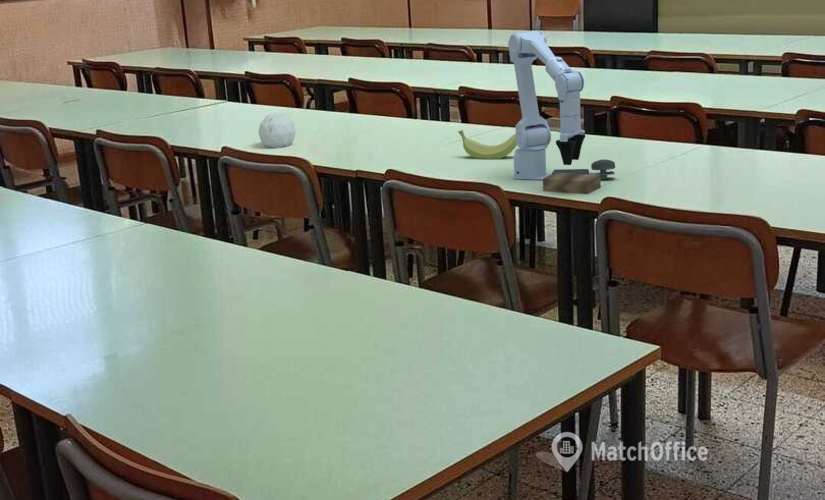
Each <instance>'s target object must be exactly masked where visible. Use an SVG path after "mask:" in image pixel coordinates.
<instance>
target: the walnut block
mask: <svg viewBox="0 0 825 500" xmlns="http://www.w3.org/2000/svg"><path fill="white" fill-rule="evenodd" d="M551 174H552V173H551ZM551 174H550V175H549V176H548V177H545V178H543V180H542V189H543V190H542V191H543V192H553V193H554V192H555V193H570V194H583V195H589V194H591V193H592V192H594V191H596V190H598V189H601V186H602V185H601V180H602V179H601V178H600V175H589V174H572V173H554V174H552V175H551Z"/></svg>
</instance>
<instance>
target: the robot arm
mask: <svg viewBox="0 0 825 500" xmlns="http://www.w3.org/2000/svg"><path fill="white" fill-rule="evenodd" d="M507 43H508V44H507V47H508V52H509V58H510V62H512V63H513V66H514V67H513V68H514V73H515V80H516V85H517V86H516V87H517V92H518V98H519V104H520V105H519V106H520V110H521V119H520V120H519V121H518V122H517V123H516V124H515V126H514V127H515V134H516V135H515V140H516V144H517V146H516V147H518V148H516V149H514V150H515V151H514V154H513V173H514V176H513V179H514V180H533V181H534V180H537V181H539V180H540V181H543V178H545V177H548V176H550V175H551V172H547V161H546V160H547V156H546V155H547V153H546V152H547V151H546V149H548V147H549V145H550V144H551V141H552V132H551V129H550V127H549V123H548V120H547V119H545V118H544V117H542V116H540V112H539V105H538V99H537V98H538V97H537V92H536V87H535V86H536V84H535V79H534V75H533V74H534V73H533V69H532V68H533V65H532V64H533V62H534V61H535V60H537V59H539V60H540V61H541V62H542V63H543V64H544V65H545V67H544V68H545V72H546V73H547V74H548V75H549V77H550V78H551V79H552V80H553V82H554V86H555V90H556V92H557V98H558V100H559V117H560V118H559V119H560V121H559V123H560V125H559V126H560V131H559V139H556V140H555V145H556V146H557V148H558V150H559V152H560V157H561V161H562V164H563V165H564V166H571V165H572V163H573V161H578V160H579V159H580V156H581V151H582V146H583V143H584V140H585V139H586V134H585V133H586V131H585V130H584V129H582V126H581V92H582V91H583V90H584V86H585V80H584V76H583V74H582V73H581V71H577V70H572V68H571V67H570V66H569V65H568V64H567V63H566V61H564V59H563V58H562V56H555V54H554V53H553V51H552V50H551V48H550V47H549V46H548V44H547V36H546V35H545V33H544V32H543V31H542V30H540V29H539V30H538V29H537V30H533V31H524V32H512V33H511V35H510V37H509V40H508V42H507Z"/></svg>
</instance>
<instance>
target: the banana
mask: <svg viewBox="0 0 825 500" xmlns="http://www.w3.org/2000/svg"><path fill="white" fill-rule="evenodd" d="M457 133H458V134H459V136H461V138H462V146H463V149H464V151H465V152H466V153H467V154H468V155H469V156H471V157H472V158H474V159H476V160H500V159H503V158H505V157H506V156H508V155H510V154H511V153H512V152H513V151H514V150H516V149H515V148H516V147H518V146H517V144H516V140H515V135H516V133H514V134H513V135H511V136H510V137H509V138H508V139H507V140H505V141H504V142H502V143H499V144H495V145H486V144H482V143H480V142H477V141H476V140H473V139H470V138H468V137H466V135H465V133H464V130H463V129H460V130H458V131H457Z"/></svg>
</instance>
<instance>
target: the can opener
mask: <svg viewBox="0 0 825 500" xmlns="http://www.w3.org/2000/svg"><path fill="white" fill-rule="evenodd" d="M590 168H591V170H592V171H590V170H589V169H588V168H572V169H571V168H569V169H565V168H564V169H563V168H562V169H554V170H552V172H551V173H550V175H552V174H554V173H572V174H589V175H600V178H601V180H606V179H607V178H608V176H614V175H615V171H614V169H616V162H615V161H613V160H609V159H599V160H595V161H593V162H592V163H591V167H590Z"/></svg>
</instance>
